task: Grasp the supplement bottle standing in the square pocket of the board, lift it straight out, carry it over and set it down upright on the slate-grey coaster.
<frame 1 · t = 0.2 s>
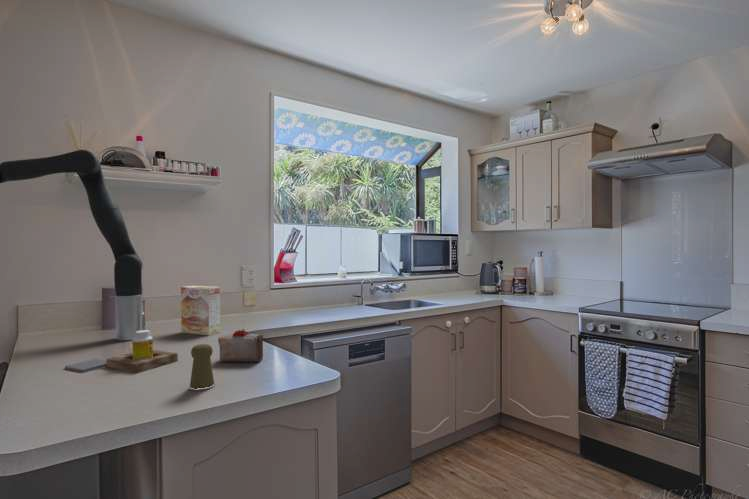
food item: (240, 361, 138), on the counter
supplement bottle: (142, 364, 134), resting in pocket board
cork: (202, 387, 112), on the counter
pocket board: (142, 363, 134), on the counter
coaster: (89, 366, 131), on the counter
coffeecake box: (200, 333, 181), on the counter
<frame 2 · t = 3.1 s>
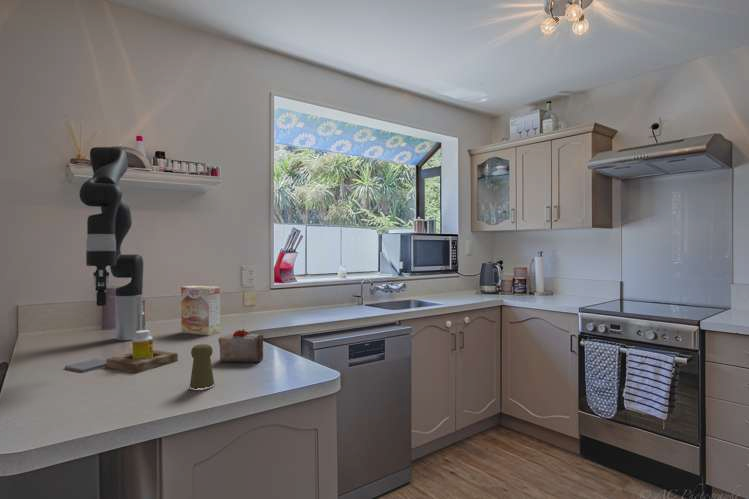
hand: (101, 304, 127), 19 cm above the counter, tool pointing down, fingers open, 8 cm apart
nothing on the counter moved.
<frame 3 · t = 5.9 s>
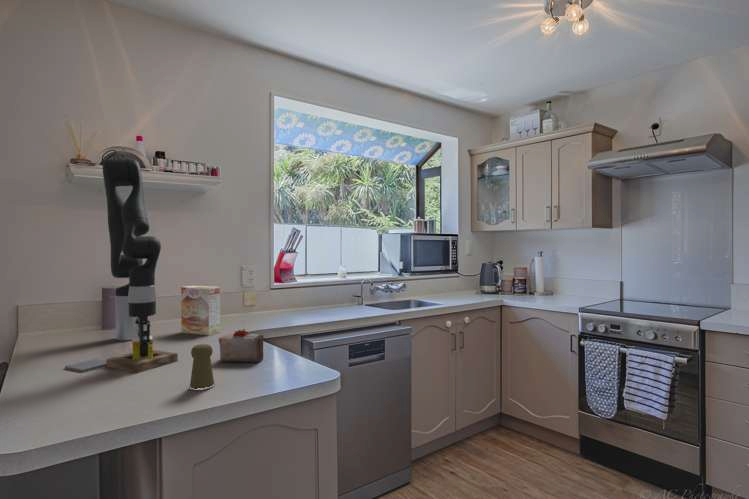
hand: (142, 354, 134), 3 cm above the counter, tool pointing down, fingers closed on supplement bottle, 5 cm apart
supplement bottle: (142, 364, 134), resting in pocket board, touching gripper
everything else where it was.
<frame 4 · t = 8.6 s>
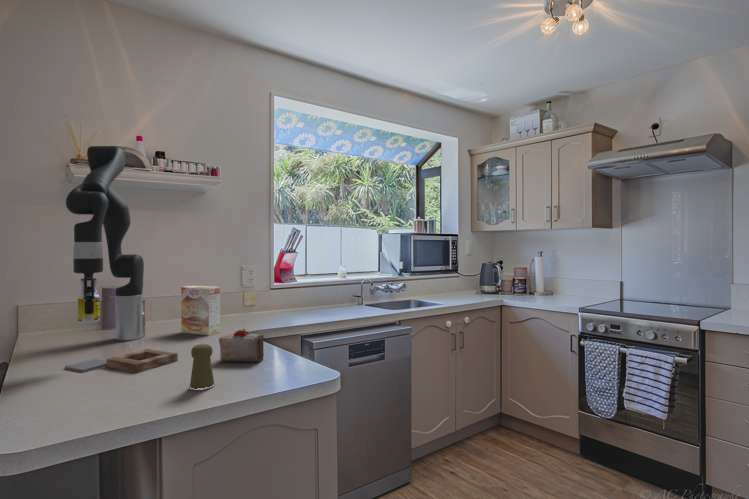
hand: (89, 312, 131), 17 cm above the counter, tool pointing down, fingers closed on supplement bottle, 5 cm apart
supplement bottle: (89, 322, 131), point 13 cm above the counter, touching gripper
everything else where it was.
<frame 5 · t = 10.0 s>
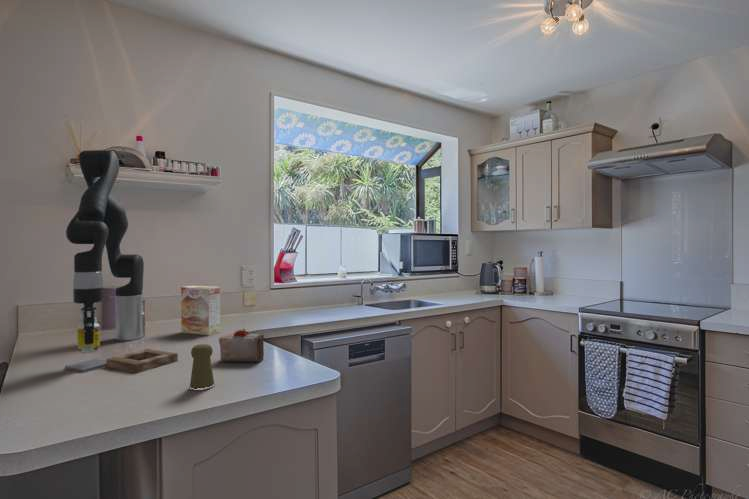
hand: (88, 341, 131), 8 cm above the counter, tool pointing down, fingers closed on supplement bottle, 5 cm apart
supplement bottle: (88, 352, 131), point 4 cm above the counter, touching gripper
everything else where it was.
when the fingers open (5 cm above the counter, at t = 11.1 s): supplement bottle stays where it is, resting on coaster.
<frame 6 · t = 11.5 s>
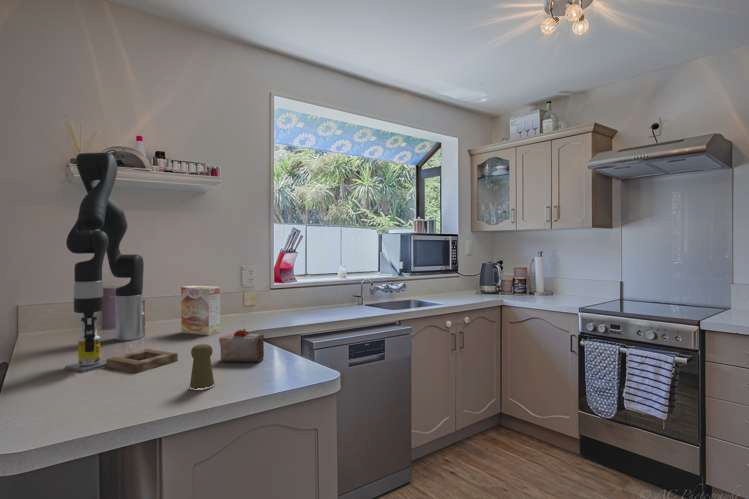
hand: (89, 349, 131), 5 cm above the counter, tool pointing down, fingers open, 8 cm apart
supplement bottle: (89, 364, 131), point 1 cm above the counter, touching coaster
everything else where it was.
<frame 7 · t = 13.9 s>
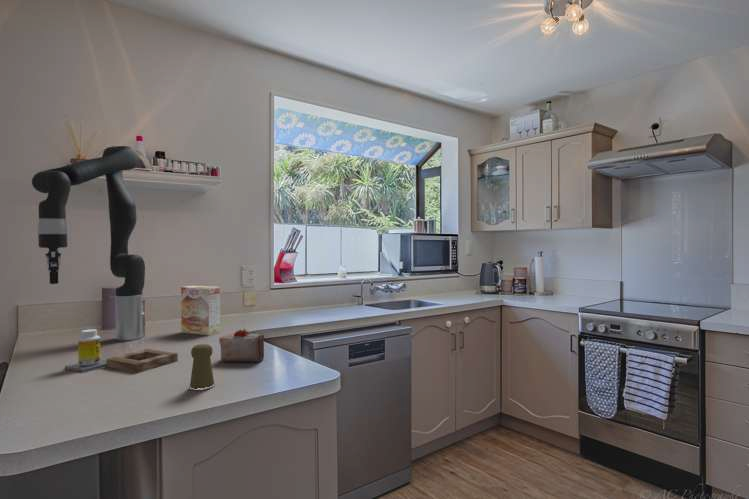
hand: (54, 282, 140), 25 cm above the counter, tool pointing down, fingers open, 8 cm apart
nothing on the counter moved.
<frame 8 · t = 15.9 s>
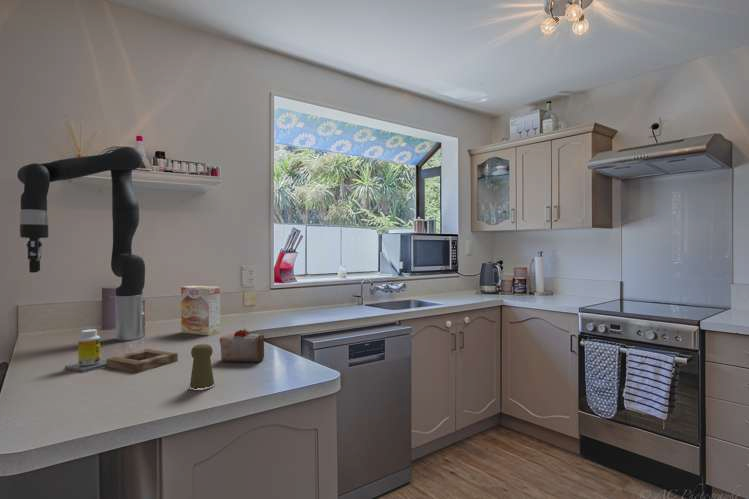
hand: (34, 271, 145), 28 cm above the counter, tool pointing down, fingers open, 8 cm apart
nothing on the counter moved.
at the end: supplement bottle inside the target area on the coaster (0.1 cm from its centre), point 0.6 cm above the coaster's base; supplement bottle tilted 0°; the gripper is holding nothing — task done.
